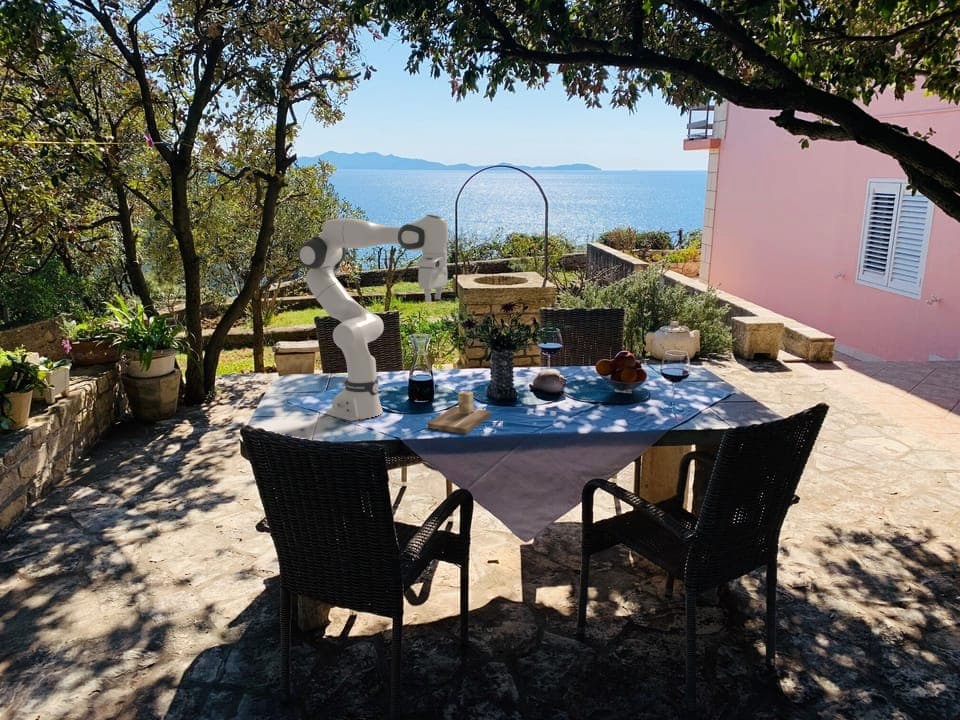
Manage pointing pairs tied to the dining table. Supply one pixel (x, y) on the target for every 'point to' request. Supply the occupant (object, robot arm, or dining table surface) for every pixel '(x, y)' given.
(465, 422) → the board
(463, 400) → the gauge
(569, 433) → the dining table surface
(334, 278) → the robot arm
